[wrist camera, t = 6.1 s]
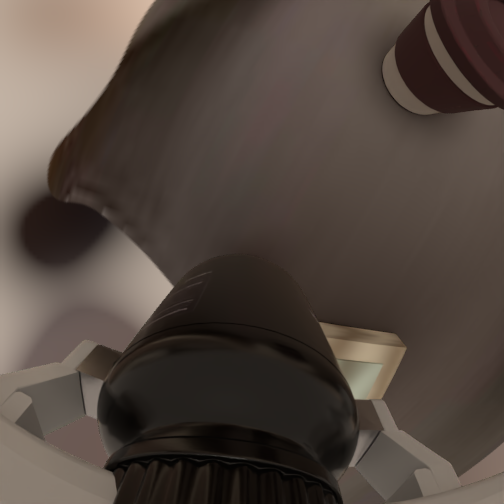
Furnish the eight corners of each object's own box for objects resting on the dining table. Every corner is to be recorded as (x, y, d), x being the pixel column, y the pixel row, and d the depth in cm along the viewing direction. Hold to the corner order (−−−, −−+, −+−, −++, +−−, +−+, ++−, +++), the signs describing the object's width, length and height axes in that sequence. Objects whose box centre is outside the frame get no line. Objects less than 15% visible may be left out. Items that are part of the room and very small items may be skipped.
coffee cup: (348, 47, 22) (420, -44, 7) (424, 31, 21) (508, -30, 6) (396, 142, 24) (514, 122, 9) (466, 115, 23) (574, 96, 8)
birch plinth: (395, 333, 28) (407, 348, 25) (348, 428, 32) (353, 445, 28) (265, 312, 28) (266, 328, 25) (236, 416, 31) (234, 436, 28)
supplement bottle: (336, 308, 14) (467, 521, 3) (248, 396, 15) (246, 605, 4) (225, 217, 13) (93, 390, 2) (143, 323, 15) (14, 518, 3)
